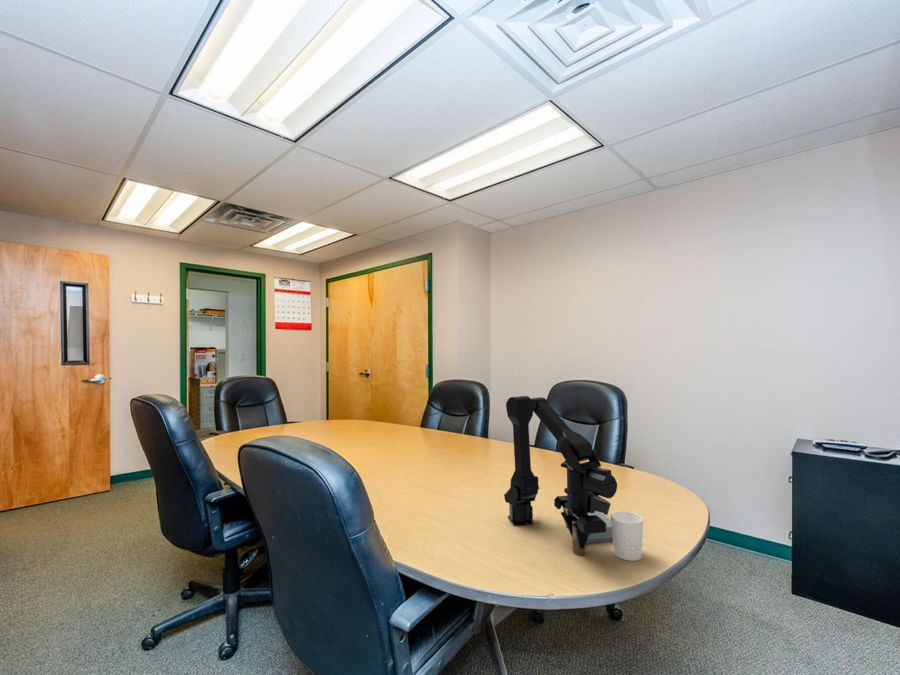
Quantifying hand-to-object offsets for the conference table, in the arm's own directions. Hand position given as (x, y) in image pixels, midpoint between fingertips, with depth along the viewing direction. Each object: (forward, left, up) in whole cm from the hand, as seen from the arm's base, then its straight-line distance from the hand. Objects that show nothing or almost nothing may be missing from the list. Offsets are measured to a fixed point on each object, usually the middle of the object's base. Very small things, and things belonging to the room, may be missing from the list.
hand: (579, 545), depth 110 cm
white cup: (+12, -3, -2) cm, 13 cm away
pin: (0, 0, -2) cm, 2 cm away
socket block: (+9, +10, -2) cm, 14 cm away
